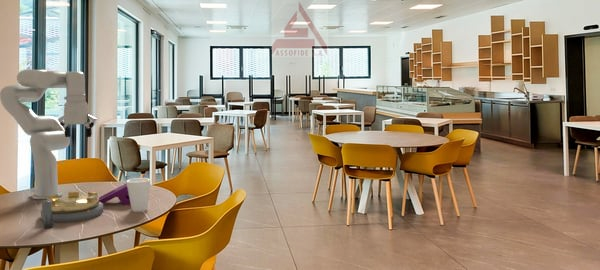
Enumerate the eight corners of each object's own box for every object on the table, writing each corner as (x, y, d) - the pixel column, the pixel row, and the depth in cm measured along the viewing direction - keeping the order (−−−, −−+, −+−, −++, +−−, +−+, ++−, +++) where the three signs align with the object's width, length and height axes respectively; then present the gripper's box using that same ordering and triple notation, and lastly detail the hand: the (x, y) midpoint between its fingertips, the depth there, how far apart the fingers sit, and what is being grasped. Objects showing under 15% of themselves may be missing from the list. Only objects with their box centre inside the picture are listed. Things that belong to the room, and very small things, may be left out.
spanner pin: (41, 228, 166) (39, 202, 165) (47, 225, 170) (45, 200, 169) (49, 228, 166) (47, 202, 165) (55, 226, 169) (53, 200, 168)
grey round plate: (27, 220, 177) (26, 212, 177) (71, 205, 199) (71, 198, 199) (74, 224, 171) (74, 217, 170) (115, 209, 193) (114, 202, 192)
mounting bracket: (102, 219, 198) (140, 199, 202) (92, 203, 196) (131, 183, 200) (105, 213, 207) (142, 195, 211) (96, 198, 205) (133, 179, 209)
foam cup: (131, 207, 196) (130, 178, 195) (153, 206, 197) (152, 177, 196) (125, 213, 187) (123, 182, 186) (147, 212, 188) (146, 182, 186)
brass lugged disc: (98, 210, 179) (98, 199, 179) (41, 215, 171) (41, 204, 171) (99, 199, 197) (99, 189, 197) (48, 203, 190) (47, 193, 189)
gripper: (52, 99, 197) (54, 137, 199) (90, 99, 196) (92, 137, 198) (62, 99, 205) (64, 136, 206) (99, 99, 204) (101, 136, 206)
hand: (78, 136), depth 202 cm, fingers open, 9 cm apart
